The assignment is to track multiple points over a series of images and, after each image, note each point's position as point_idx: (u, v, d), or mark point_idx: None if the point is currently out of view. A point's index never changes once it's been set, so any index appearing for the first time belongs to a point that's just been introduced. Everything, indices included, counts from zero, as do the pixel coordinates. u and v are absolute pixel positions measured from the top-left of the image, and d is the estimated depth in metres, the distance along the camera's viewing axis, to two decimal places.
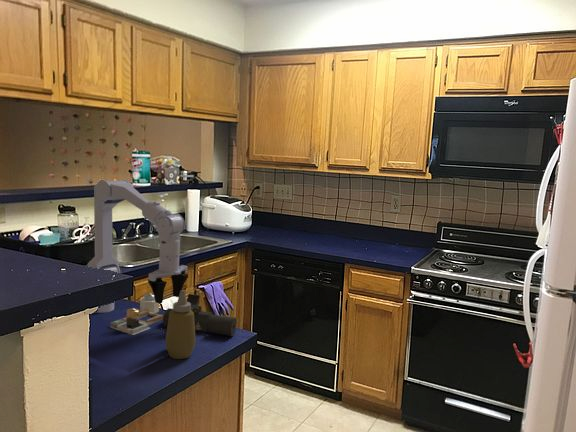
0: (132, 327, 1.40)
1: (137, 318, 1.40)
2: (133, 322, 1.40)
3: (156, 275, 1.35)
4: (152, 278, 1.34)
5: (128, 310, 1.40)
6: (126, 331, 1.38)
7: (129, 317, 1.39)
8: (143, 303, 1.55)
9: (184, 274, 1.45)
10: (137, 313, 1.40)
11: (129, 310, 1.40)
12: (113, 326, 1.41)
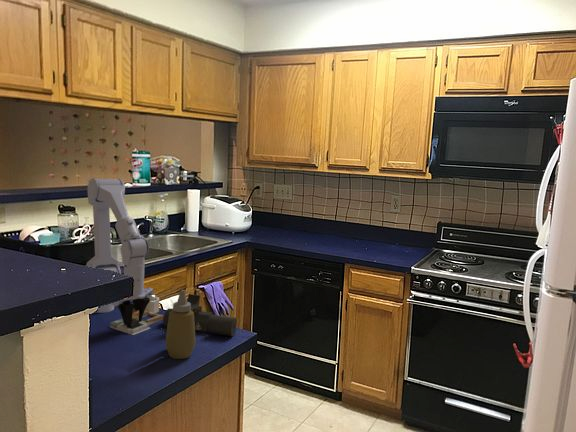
0: (132, 327, 1.40)
1: (137, 318, 1.40)
2: (133, 322, 1.40)
3: None
4: (115, 303, 1.34)
5: None
6: (126, 331, 1.38)
7: None
8: None
9: None
10: (137, 313, 1.40)
11: None
12: (113, 326, 1.41)
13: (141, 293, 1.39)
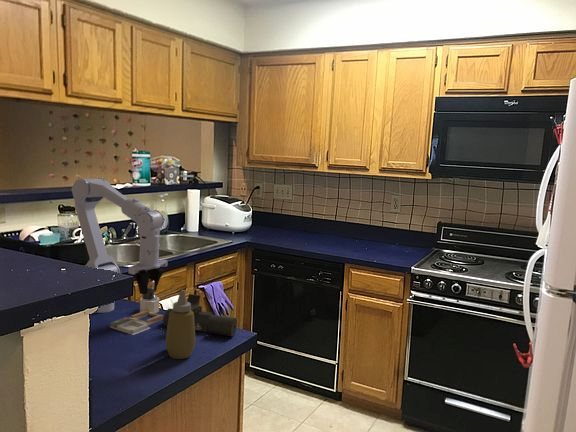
0: (148, 296, 1.47)
1: (152, 288, 1.47)
2: (149, 291, 1.46)
3: (136, 268, 1.41)
4: (132, 271, 1.41)
5: None
6: (126, 331, 1.38)
7: None
8: (143, 303, 1.55)
9: None
10: (152, 283, 1.47)
11: None
12: (113, 326, 1.41)
13: (156, 263, 1.46)
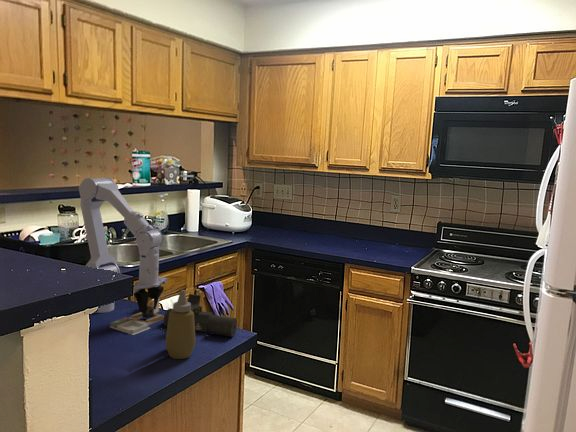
0: (147, 314, 1.47)
1: (152, 306, 1.48)
2: (148, 309, 1.47)
3: (135, 288, 1.42)
4: None
5: None
6: (126, 331, 1.38)
7: None
8: None
9: None
10: (152, 301, 1.48)
11: None
12: (113, 326, 1.41)
13: (156, 282, 1.47)
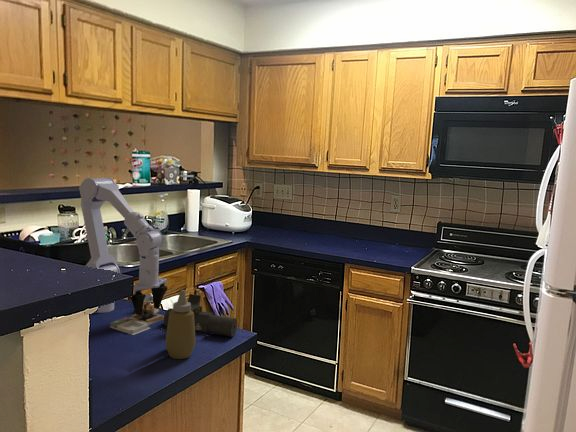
0: None
1: (152, 311, 1.48)
2: (148, 314, 1.48)
3: (135, 288, 1.42)
4: None
5: (143, 303, 1.48)
6: (126, 331, 1.38)
7: (144, 309, 1.47)
8: None
9: (163, 287, 1.52)
10: (152, 306, 1.48)
11: (144, 303, 1.48)
12: (113, 326, 1.41)
13: (156, 283, 1.47)
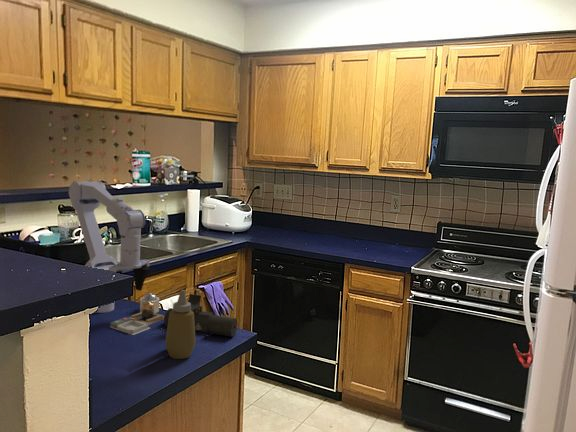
0: None
1: (152, 311, 1.48)
2: (148, 314, 1.48)
3: (116, 268, 1.40)
4: None
5: (143, 303, 1.48)
6: (126, 331, 1.38)
7: (144, 309, 1.47)
8: None
9: (146, 268, 1.49)
10: (152, 306, 1.48)
11: (144, 303, 1.48)
12: (113, 326, 1.41)
13: (137, 263, 1.45)
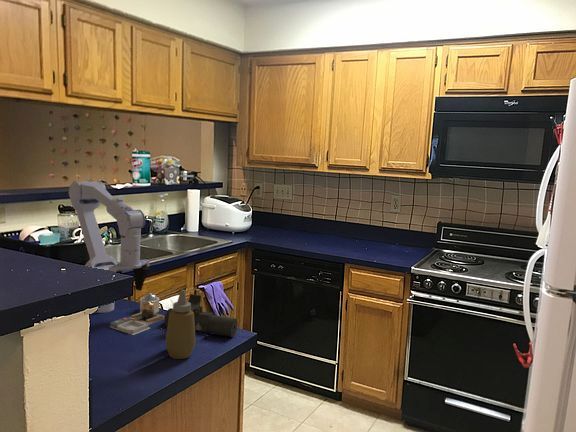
0: None
1: (152, 311, 1.48)
2: (148, 314, 1.48)
3: (116, 268, 1.40)
4: None
5: (143, 303, 1.48)
6: (126, 331, 1.38)
7: (144, 309, 1.47)
8: None
9: (146, 268, 1.49)
10: (152, 306, 1.48)
11: (144, 303, 1.48)
12: (113, 326, 1.41)
13: (137, 263, 1.45)
